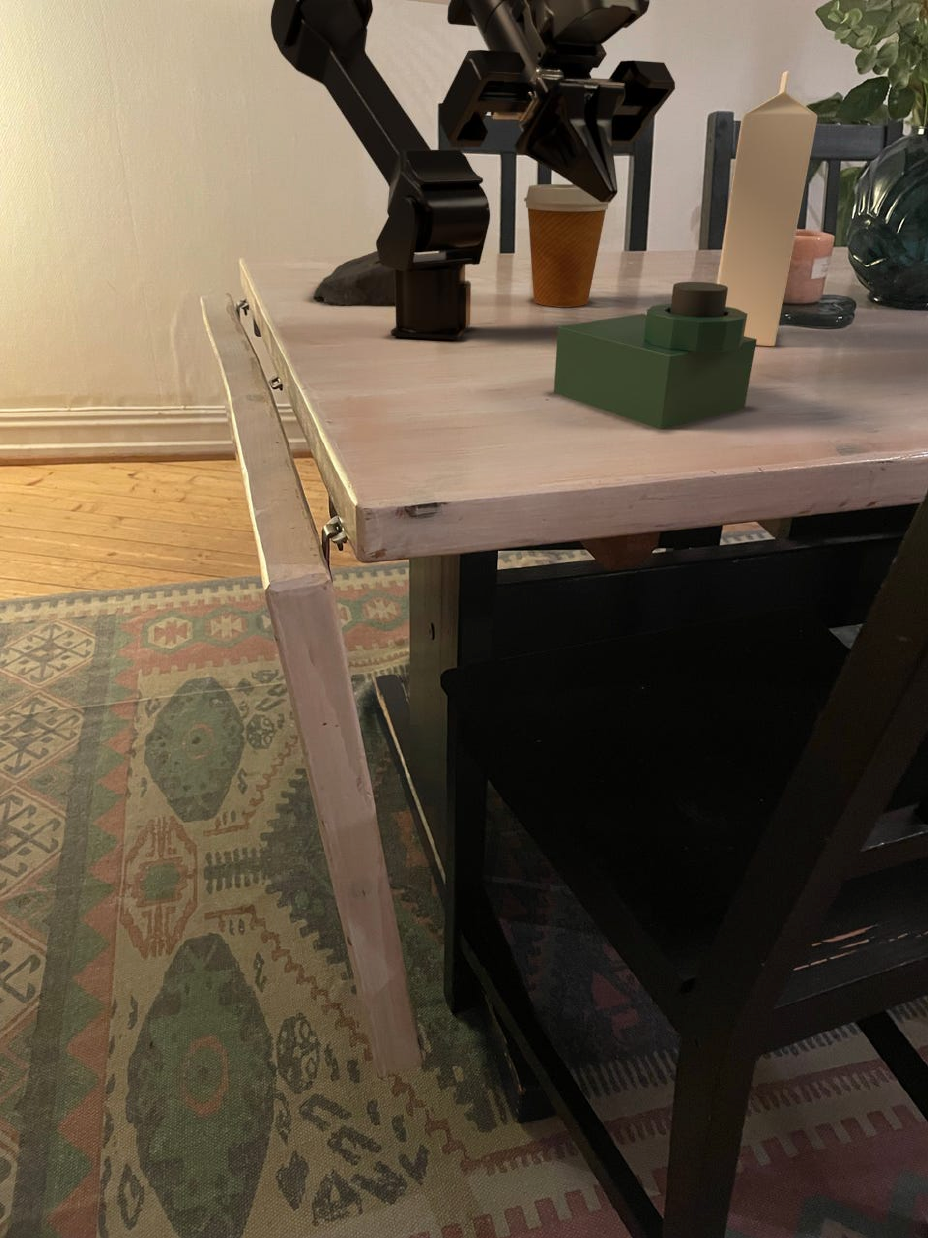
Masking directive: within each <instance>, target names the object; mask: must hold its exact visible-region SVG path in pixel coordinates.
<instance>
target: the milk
mask: <svg viewBox="0 0 928 1238" xmlns="http://www.w3.org/2000/svg"><path fill="white" fill-rule="evenodd" d="M789 71H790V70H789V69H788V70H785V71H784V72H783V73H782V74H781V75H782V76H781V81H780V87H779V91H778V92H779V93H778V94H776V95H774V96H773V97H771V98H769V99H767V100H766V101H764V102H762V103H761V104H759V105H757V106H756V107H754V108H752V109H750V110H749V111H747V112H745V113H744V114H742V115H741V119H740V127H739V134H738V140H737V147H736V154H735V159H734V167H733V173H732V179H731V180H732V181H731V187H730V194H729V195H730V196H729V201H728V206H727V207H728V208H727V212H726V213H727V214H726V222H725V225H724V234H723V240H722V247H721V254H720V260H719V268H718V274H717V281H716V284H721V285H724V286H727V287H728V292H727V299H726V305H725V307H730V308H736V309H738V310H740V311H742V312H744V313H747V320H746V326H745V332H744V336H745V337H749V338H754V339H757V341H756V346H762V347H763V346H764V347H775V345H776V341H777V336H778V330H779V325H780V319H781V313H782V308H783V303H784V297H785V293H786V287H787V283H788V277H789V271H790V265H791V260H792V254H793V250H794V245H795V239H796V233H797V228H798V222H799V218H800V212H801V208H802V207H801V206H802V201H803V196H804V192H805V186H806V181H807V175H808V170H809V165H810V159H811V153H812V149H813V144H814V139H815V138H814V137H815V133H816V129H817V128H816V127H817V121H818V114H816V113H815V112H814V111H812V110H811V109H810V108H808V107H807V106H806V105H804V104H803V103H802V102H800V101H799V100H798V99H796V98H795V97H794V96H792V95H791V94H790V93H788V92H787V84H788V77H789V73H790V72H789Z"/></svg>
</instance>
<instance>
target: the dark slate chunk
mask: <svg viewBox="0 0 928 1238" xmlns="http://www.w3.org/2000/svg"><path fill="white" fill-rule="evenodd" d="M418 254H419V253H415V254H414V255H418ZM313 300H314V301H317V302H321V303H322V302H323V303H324V302H325V303H326V304H327V305H330V306H334V305H335V306H337V305H340V306H353V305H357V306H359V305H361V306H395V269H393V268H389V267H385V266H381V265H380V262H379V257H378V252H377V250H375V251H373V252H371V253H368V254H365V255H362V256H360V257H357V258H356V257H355V258H353V259H350V260H348V261H346V262H344V263H343V264H340V265H337V266H336V268H335V269H334V270H333V271H332V273H330V274H329V275H327V276H326V277H324V278H323V279H322V281H321V282H320V284H319V285H318V286H317V288H316V289H315V292H314V294H313Z"/></svg>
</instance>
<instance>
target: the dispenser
mask: <svg viewBox="0 0 928 1238" xmlns="http://www.w3.org/2000/svg"><path fill="white" fill-rule="evenodd" d="M670 308H671V302H668V303H660V304H655V305H652V306H650V307H649V308H648V309H646V314H645V313H638V314H632V315H625V316H619V317H612V318H605V319H599V320H592V321H585V322H578V323H572V324H566V325H559V326H558V327H557V336H556V350H555V351H556V352H555V364H554V365H555V368H554V383H553V394H555V395H558V396H561V397H564V398H567V399H570V400H573V401H576V402H578V403H581V404H585V405H587V406H589V407H594V408H596V409H598V410H602V411H605V412H608V413H610V414H614V415H617V416H620V417H622V418H625V419H628V420H631V421H634V422H636V423H637V422H638V423H640V424H643V425H646V426H649V427H652V428H655V429H658V430H661V431H662V430H666V429H669V428H670V429H671V428H674V427H677V426H681V425H685V424H688V423H693V422H697V421H701V420H704V419H709V418H712V417H717V416H720V415H724V414H727V413H733V412H736V411H740V410H744V409H745V407H746V403H747V396H748V391H749V385H750V379H751V374H752V369H753V364H754V358H755V351H756V346H757V345H756V341H757V339H754V338H749V337H745V336H744V332H745V326H746V320H747V313H744V312H742V311H740V310H738V309H736V308H730V307H725V311H724V316H722V317H716V318H697V317H686V316H680V315H675V314H671V313H670Z"/></svg>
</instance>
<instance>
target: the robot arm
mask: <svg viewBox="0 0 928 1238" xmlns="http://www.w3.org/2000/svg"><path fill="white" fill-rule="evenodd" d="M650 2H651V1H650V0H450V2H449V4H448V7H447V18H446V20H447V22H448V24H449V25H454V26H466V27H476V28H477V29H478V32H479V34H480V36H481V38H482V40H483V41H484V44H485V46H486V48H487V49H475V50H473V49H472V50H468V51H467V52H466V54H465V56H464V58H463V60H462V62H461V64H460V66H459V67H458V68H459V69H458V70H457V72H456V74H455V76H454V79H453V80H452V83H451V84H450V86H449V89H448V91H447V92H446V94H445V97H444V98H443V101H442V103H441V105H440V106H439V111H438V112H439V118H438V119H439V121H438V122H439V124H440V126H441V128H442V130H443V132H444V135H445V136H446V139H447V140H448V142H449V144H450V147H451V148H481V147H482V145H483V143H484V142H485V140H486V137H487V135H488V133H489V131H488V129H487V127H486V124H485V123H484V120H485V118H486V116H488V115H487V114H488V113H490V117H491V118H492V120H510V121H511V122H513V121H515V122H516V121H517V122H519V125H518V126H519V128H520V130H521V133H520V135H519V137H518V139H517V140H516V142H515V143H514V146H513V148H514V151H515V152H516V154H518V155H522V156H526V157H528V158H530V159H532V160H534V161H535V162H537V163H539V164H540V165H542V166H544V167H545V168H546V169H549V170H551V171H552V172H554V173H555V174H557V175H559V176H560V177H562V178H564V179H565V180H566V181H568V182H569V183H570V184H573V185H576V186H577V187H579V188H580V189H582V190H583V191H585V192H586V193H588V194H589V195H591V196H592V197H594V198H595V199H597V200H598V201H600V202H602V203H603V202H611V203H612V201H613V200H614V198H615V197H616V196H617V194H618V182H617V173H616V164H615V156H614V148H613V147H628V146H629V145H631V144H633V143H635V142H636V141H637V140H638V138H639V137H640V136H641V134H642V133H643V132H644V131H645V129H646V128H647V126H648V125H649V124H650V123H651V121H652V120H653V119H654V118H655V116H656V115H657V114H658V112H659V111H660V109H661V108H662V107H663V106H664V104H665V103H666V102H667V101H668V99H669V97H670V96H671V95H672V94H673V92H674V91H675V90H676V82H675V79H674V78H673V76H672V74H671V72H670V70H669V69H668V67H667V65H666V63H665V62H664V61H663V62H661V61H649V60H648V61H647V60H635V59H634V60H632V59H631V60H620V62H619V63H618V64H617V66H616V67H615V69H614V71H612V73H611V75H610V76H609V78H597V77H596V78H595V77H592V75H591V72H592V70H593V69H598V68H599V67H600V65H601V64H602V63H603V61H604V59H605V58H606V56H607V52H606V50H605V47H604V46H603V44H604V43H606V42H607V41H608V40H610V39H611V38H612V37H614V36H615V35H616V34H618V32H619V31H621V30H622V29H627V28H629V27H630V26H632V25H633V24H634V23H635V22H636V21H638V20H639V19H640V18H642V16H644V15H646V13H647V12H648V9H649V6H650ZM373 11H374V5H373V0H274V1H273V3H272V8H271V13H270V31H271V34H272V39H273V40H274V42H275V44H276V46H277V49H278V50H279V52H280V54H281V55H282V56H283V58H284V59H285V60H286V61H287V62H288V63H289V64H290V66H291V67H293V69H294V70H295V71H296V72H298V73H300V74H301V75H304V76H306V77H308V78H309V79H311V80H314V81H315V82H317V83H319V84H321V85H323V86H324V87H325V89H326V90H327V92H328V93H329V96H331V98H332V100H333V101H334V103H335V104H336V106H337V107H338V109H339V110H340V112H341V113H342V115H343V117H344V118H345V119H346V121H347V123H348V125H349V126H350V127H351V129H352V130H353V132H354V133H355V136H356V137H357V138H358V140H359V141H360V143H361V145H362V146H363V147H364V149H365V150H366V152H367V154H368V155H369V157H370V158H371V160H372V161H373V163H374V164H375V166H376V167H377V169H378V171H379V173H380V174H381V175H382V177H383V178H384V180H385V181H386V183H387V185H388V197H387V206H386V207H387V208H386V214H387V215H388V217H387V219H386V221H385V223H384V225H383V227H382V229H381V231H380V232H379V234H378V237H377V239H376V241H375V247H376V251H377V252H378V257H379V262H380V265H381V266H385V267H389V268H393V269H395V305H394V306H395V327H394V328H392V329H391V330H390V335H391V337H399V338H416V339H417V338H419V339H435V340H437V339H438V340H458V339H459V338H460V337H461V336H462V335H463V334H464V332H465V331H466V330H467V329H468V328H469V326H471V301H472V300H471V299H472V298H471V297H472V295H471V294H472V292H471V291H472V283H471V281H469V280H466V265H471V266H478V265H480V263H481V260H482V256H483V251H484V247H485V244H486V239H487V234H488V232H489V231H488V230H489V226H490V223H491V210H490V209H491V207H490V203H489V199H488V196H487V194H486V192H485V190H484V188H483V187H482V185H481V184H482V183H484V177H482V176H480V175H478V173H476V172H475V171H474V170H473V168H472V166H471V163H470V162H469V160H468V157H467V156H466V155H465V154H464V153H463V152H462V151H461V150H460V149H431V147H430V146H429V144H428V143H427V141H426V140H425V139H424V136H423V135H422V134H421V132H420V131H419V129H418V128H417V126H416V125H415V124H414V122H413V121H412V119H411V118H410V116H409V114H408V113H407V112H406V111H405V109H404V107H403V106H402V105H401V102H400V101H399V100H398V98H397V96H396V95H395V94H394V93H393V91H392V90H391V88H390V87H389V85H388V84H387V82H386V81H385V79H384V78H383V76H382V75H381V73H380V72H379V71H378V69H377V67H376V66H375V64H374V63H373V62H372V60H371V59H370V57H369V56H368V55H367V52H366V46H367V38H368V25H369V22H370V20H371V17H372V15H373ZM443 251H444V252H443ZM422 253H423V254H422ZM414 254H418V255H414Z"/></svg>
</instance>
